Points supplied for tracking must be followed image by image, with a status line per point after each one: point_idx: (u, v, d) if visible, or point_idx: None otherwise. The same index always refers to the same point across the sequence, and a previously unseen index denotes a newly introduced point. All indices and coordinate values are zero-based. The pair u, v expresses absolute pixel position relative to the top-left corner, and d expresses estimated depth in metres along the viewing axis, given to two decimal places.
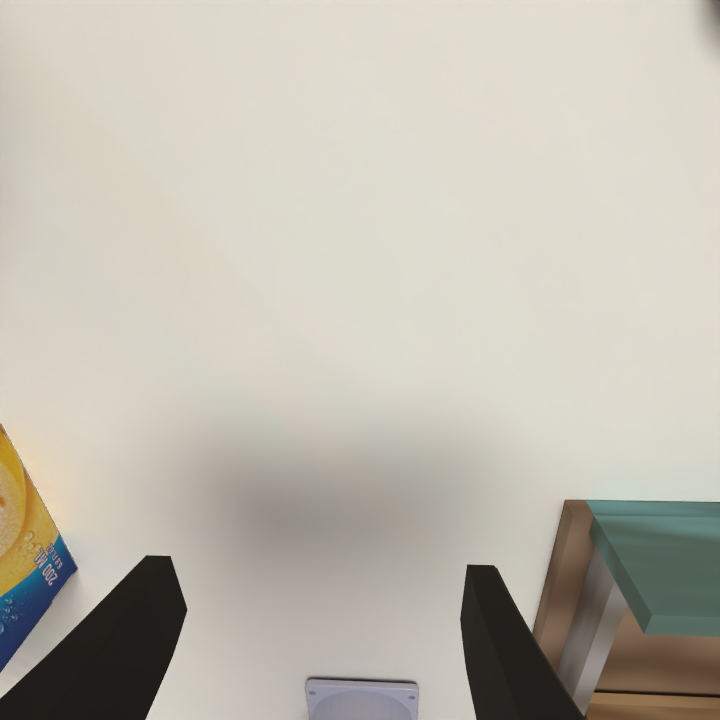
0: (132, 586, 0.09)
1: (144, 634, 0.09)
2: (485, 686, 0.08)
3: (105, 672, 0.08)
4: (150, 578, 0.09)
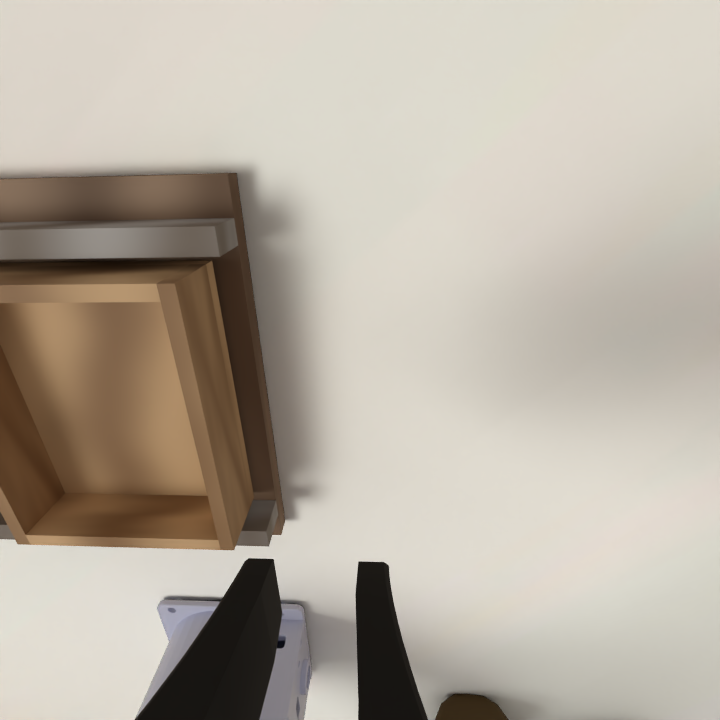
0: (246, 590, 0.09)
1: (258, 638, 0.09)
2: None
3: (235, 678, 0.08)
4: (261, 581, 0.09)
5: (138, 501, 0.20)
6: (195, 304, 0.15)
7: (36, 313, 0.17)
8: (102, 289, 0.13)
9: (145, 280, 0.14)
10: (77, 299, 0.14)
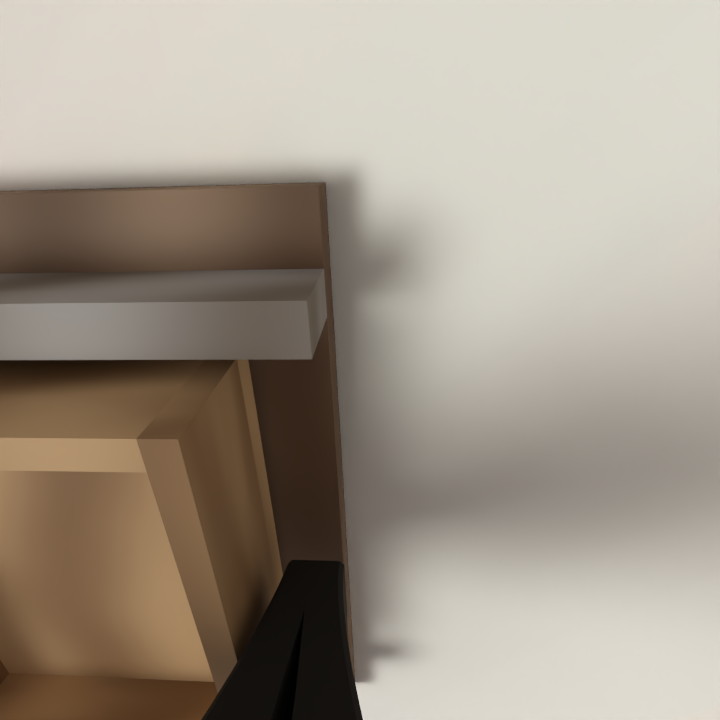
0: (295, 591, 0.09)
1: None
2: None
3: (291, 680, 0.08)
4: (309, 583, 0.09)
5: (121, 695, 0.13)
6: (219, 450, 0.07)
7: None
8: (17, 447, 0.06)
9: (113, 421, 0.06)
10: None
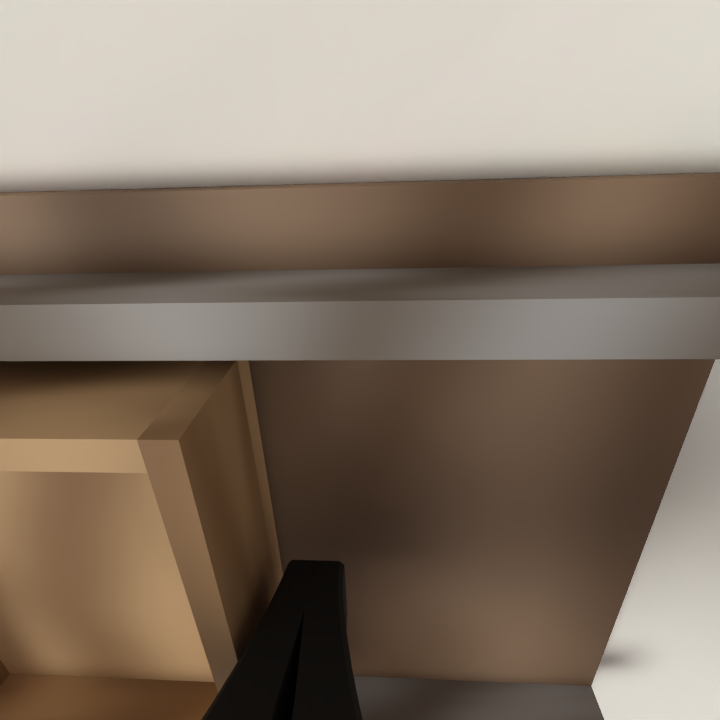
0: (295, 591, 0.09)
1: None
2: None
3: (291, 680, 0.08)
4: (309, 583, 0.09)
5: (121, 695, 0.13)
6: (219, 451, 0.07)
7: None
8: (18, 448, 0.06)
9: (114, 421, 0.06)
10: None
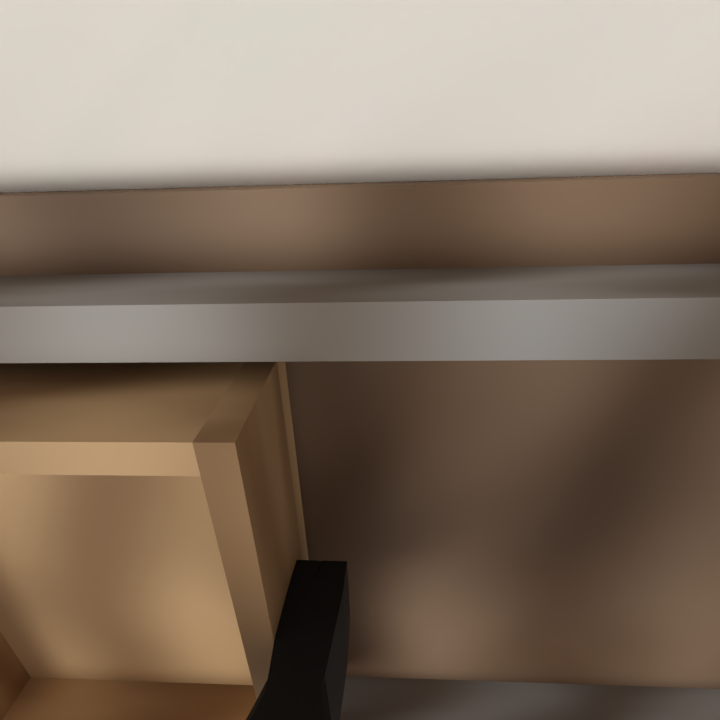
0: (328, 592, 0.09)
1: (340, 642, 0.09)
2: None
3: (329, 682, 0.08)
4: (341, 584, 0.09)
5: (145, 698, 0.13)
6: (264, 453, 0.07)
7: None
8: (70, 451, 0.06)
9: (165, 424, 0.06)
10: (15, 469, 0.06)
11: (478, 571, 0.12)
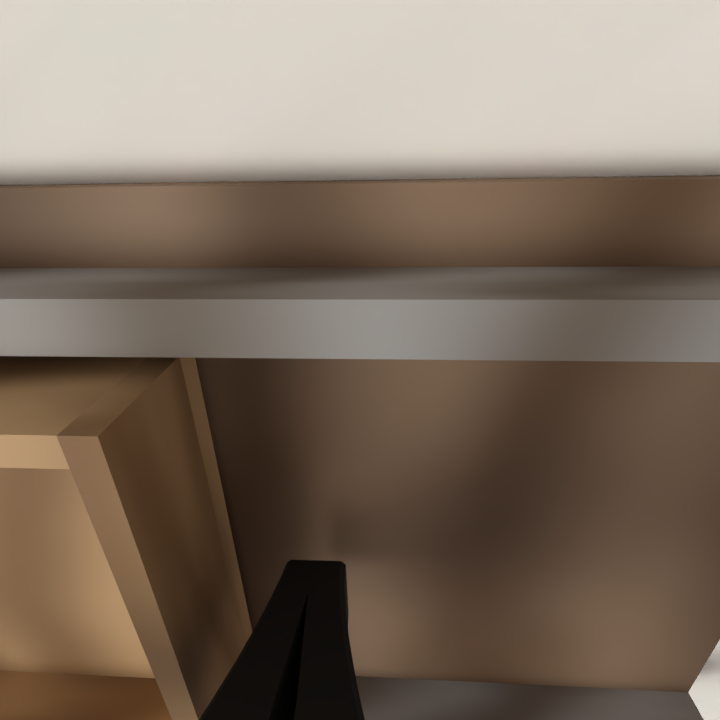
0: (293, 591, 0.09)
1: None
2: None
3: (289, 680, 0.08)
4: (307, 583, 0.09)
5: (80, 692, 0.13)
6: (154, 448, 0.07)
7: None
8: None
9: (38, 417, 0.06)
10: None
11: (390, 569, 0.12)
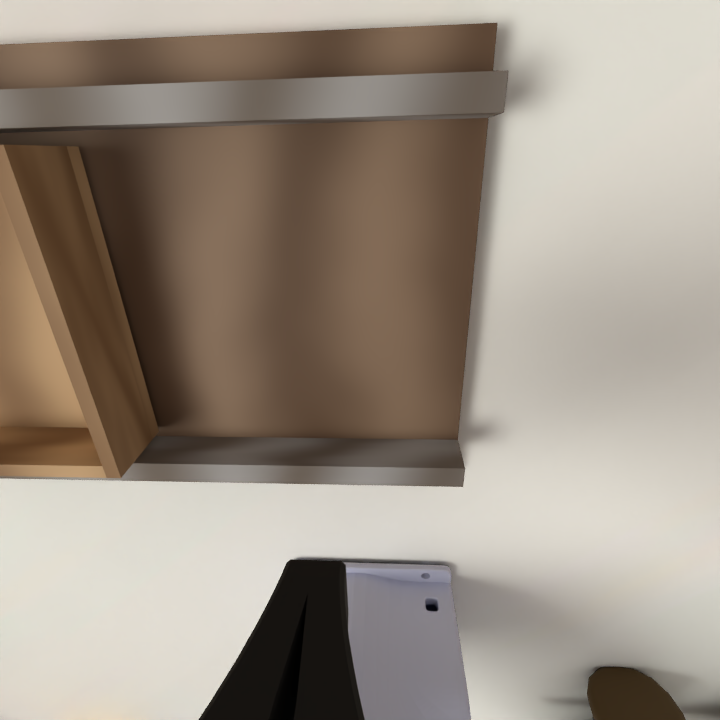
0: (293, 591, 0.09)
1: None
2: None
3: (289, 680, 0.08)
4: (307, 583, 0.09)
5: (29, 433, 0.19)
6: (45, 183, 0.13)
7: None
8: None
9: None
10: None
11: (232, 332, 0.18)
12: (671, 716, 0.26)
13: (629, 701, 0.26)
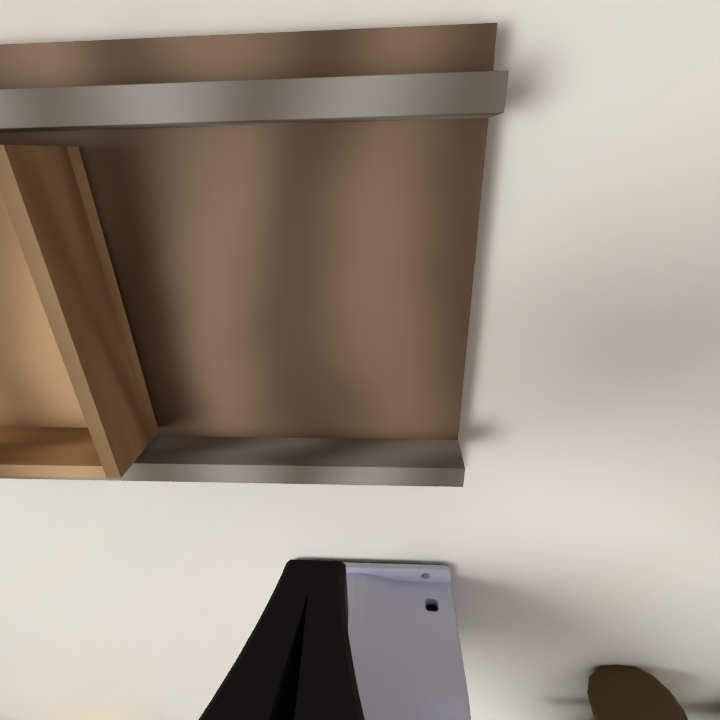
0: (293, 591, 0.09)
1: None
2: None
3: (289, 680, 0.08)
4: (307, 583, 0.09)
5: (29, 433, 0.19)
6: (45, 183, 0.13)
7: None
8: None
9: None
10: None
11: (232, 332, 0.18)
12: (672, 713, 0.25)
13: (630, 699, 0.26)
